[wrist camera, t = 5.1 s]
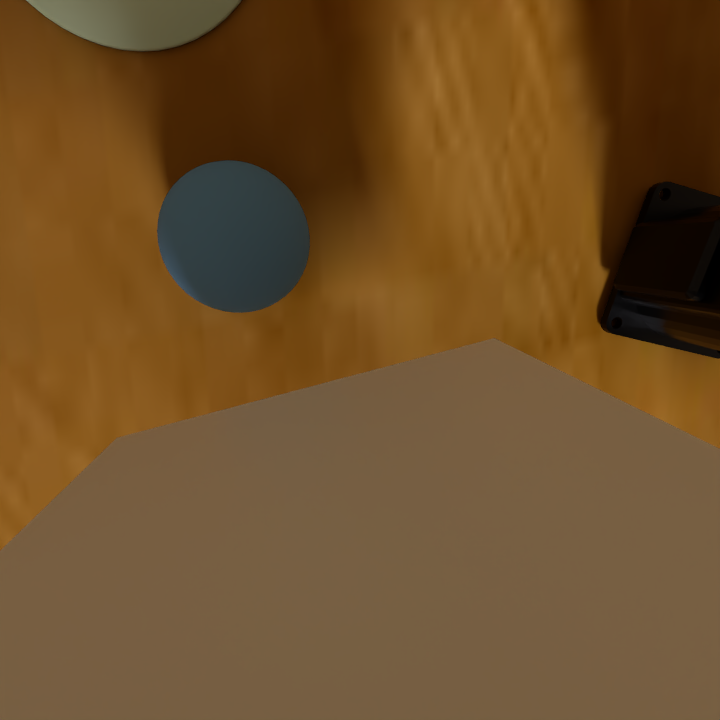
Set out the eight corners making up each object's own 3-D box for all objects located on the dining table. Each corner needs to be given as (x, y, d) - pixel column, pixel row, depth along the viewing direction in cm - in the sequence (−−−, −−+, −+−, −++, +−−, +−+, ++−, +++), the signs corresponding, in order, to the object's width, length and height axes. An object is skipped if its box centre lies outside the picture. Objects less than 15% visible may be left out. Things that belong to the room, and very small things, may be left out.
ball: (322, 192, 17) (324, 171, 12) (297, 314, 18) (290, 338, 14) (193, 158, 16) (141, 122, 12) (175, 288, 18) (122, 303, 13)
